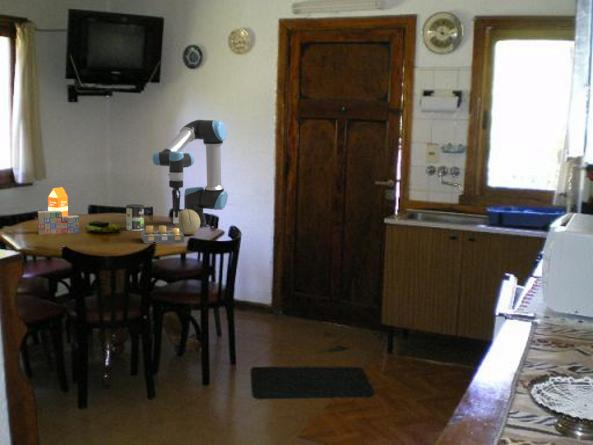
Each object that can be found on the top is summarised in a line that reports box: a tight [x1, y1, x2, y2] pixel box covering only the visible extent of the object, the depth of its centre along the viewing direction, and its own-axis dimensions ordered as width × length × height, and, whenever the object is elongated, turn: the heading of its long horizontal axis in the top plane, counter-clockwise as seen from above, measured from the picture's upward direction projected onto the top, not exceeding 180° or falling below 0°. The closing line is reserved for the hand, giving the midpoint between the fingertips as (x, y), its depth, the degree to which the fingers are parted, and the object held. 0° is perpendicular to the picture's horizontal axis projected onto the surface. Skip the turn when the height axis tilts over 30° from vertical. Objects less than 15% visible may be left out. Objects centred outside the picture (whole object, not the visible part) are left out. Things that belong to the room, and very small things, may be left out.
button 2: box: [171, 227, 179, 234], centre depth 388 cm, size 4×4×5 cm
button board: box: [140, 230, 185, 244], centre depth 386 cm, size 21×14×4 cm
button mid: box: [158, 224, 167, 234], centre depth 385 cm, size 4×4×5 cm
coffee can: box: [125, 204, 145, 232], centre depth 415 cm, size 10×10×14 cm
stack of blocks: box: [37, 210, 80, 235], centre depth 395 cm, size 21×6×12 cm, turn 112°
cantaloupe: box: [174, 208, 201, 236], centre depth 405 cm, size 15×15×15 cm
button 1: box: [145, 225, 154, 234], centre depth 383 cm, size 4×4×5 cm
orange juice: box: [47, 187, 69, 216], centre depth 434 cm, size 8×9×20 cm
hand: (176, 222), depth 387 cm, fingers closed
